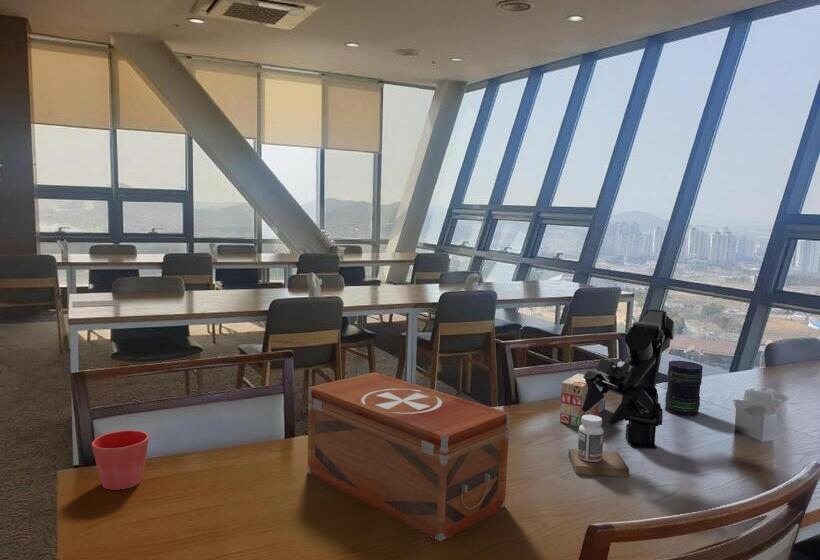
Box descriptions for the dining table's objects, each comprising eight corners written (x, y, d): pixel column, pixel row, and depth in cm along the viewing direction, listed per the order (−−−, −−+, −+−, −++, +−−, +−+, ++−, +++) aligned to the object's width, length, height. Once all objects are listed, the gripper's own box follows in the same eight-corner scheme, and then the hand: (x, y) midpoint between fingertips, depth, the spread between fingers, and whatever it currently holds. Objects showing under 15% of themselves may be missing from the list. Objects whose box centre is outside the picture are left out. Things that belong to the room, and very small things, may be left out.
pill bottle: (603, 456, 149) (606, 416, 148) (600, 464, 144) (602, 423, 143) (579, 451, 152) (582, 412, 151) (575, 459, 147) (577, 419, 146)
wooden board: (617, 459, 152) (618, 452, 152) (628, 477, 143) (629, 468, 142) (568, 456, 153) (568, 449, 153) (575, 473, 143) (576, 465, 143)
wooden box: (372, 449, 155) (374, 371, 152) (507, 507, 127) (512, 412, 124) (306, 472, 140) (307, 386, 138) (442, 543, 112) (446, 437, 110)
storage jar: (668, 404, 199) (672, 359, 197) (701, 411, 193) (706, 364, 191) (660, 412, 191) (664, 364, 189) (695, 419, 185) (699, 370, 183)
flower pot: (94, 476, 135) (93, 433, 133) (149, 469, 139) (148, 427, 138) (91, 497, 125) (89, 451, 124) (149, 489, 129) (149, 444, 128)
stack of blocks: (585, 405, 196) (588, 367, 194) (605, 409, 192) (607, 370, 191) (559, 422, 178) (561, 381, 177) (580, 427, 175) (583, 385, 173)
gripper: (591, 338, 156) (553, 385, 153) (648, 356, 139) (606, 408, 136) (613, 366, 160) (577, 412, 157) (670, 386, 144) (631, 438, 140)
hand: (596, 417), depth 148 cm, fingers open, 9 cm apart
